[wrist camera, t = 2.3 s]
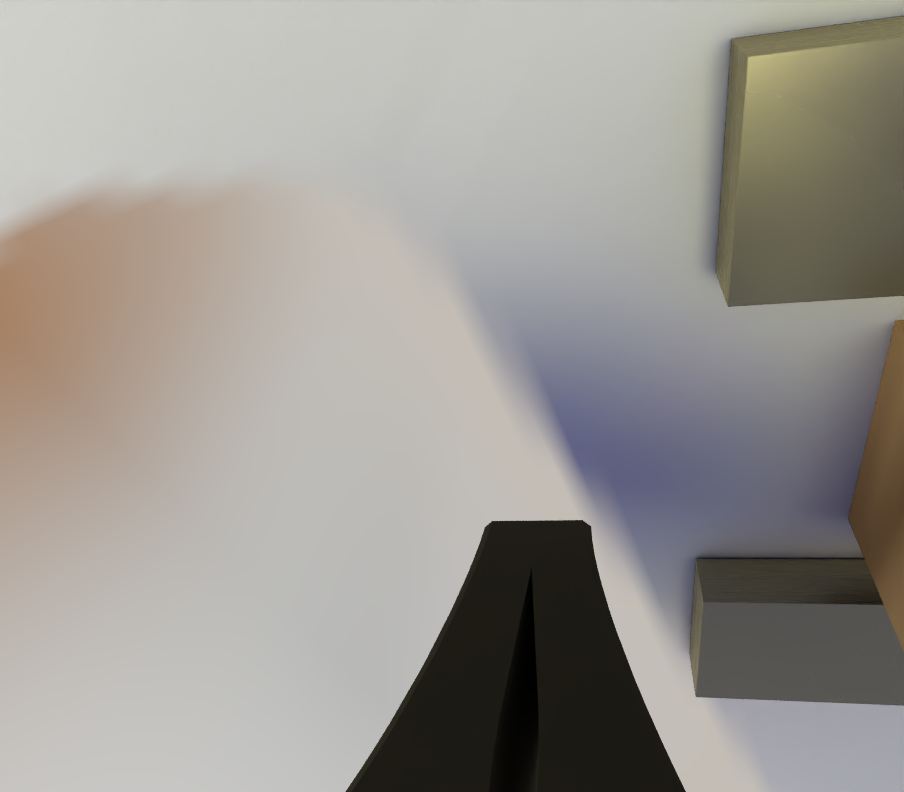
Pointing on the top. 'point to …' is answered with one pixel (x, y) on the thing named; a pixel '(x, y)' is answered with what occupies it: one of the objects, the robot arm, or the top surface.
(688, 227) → the top surface
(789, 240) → the slot rails
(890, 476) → the block
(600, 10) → the top surface
